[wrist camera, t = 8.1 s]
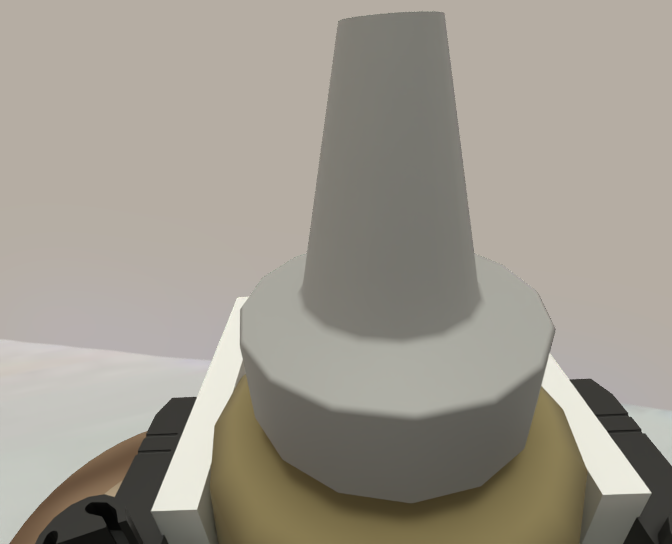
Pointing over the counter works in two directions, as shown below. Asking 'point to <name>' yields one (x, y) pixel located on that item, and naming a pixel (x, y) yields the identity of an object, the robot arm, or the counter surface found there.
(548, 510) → the squeeze bottle
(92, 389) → the counter surface
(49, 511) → the walnut board
